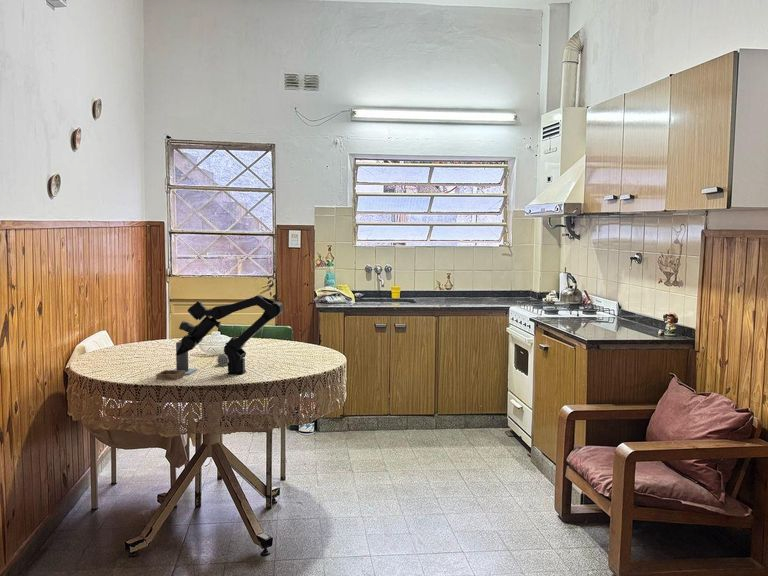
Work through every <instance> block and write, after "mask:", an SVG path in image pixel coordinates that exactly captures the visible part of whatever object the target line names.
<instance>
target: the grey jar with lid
mask: <svg viewBox="0 0 768 576" xmlns="http://www.w3.org/2000/svg"><path fill="white" fill-rule="evenodd" d="M181 345H182V343H181V339H180V340H178V341H177V342H175V358H176V360H175V361H176V362H175V366H176V370H181V371H185V372H187V371H188V369H189V351H187V352H185V353H183V354H180V355H178V356H177V355H176V353H177V351H178V349H179V348H180V346H181Z"/></svg>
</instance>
